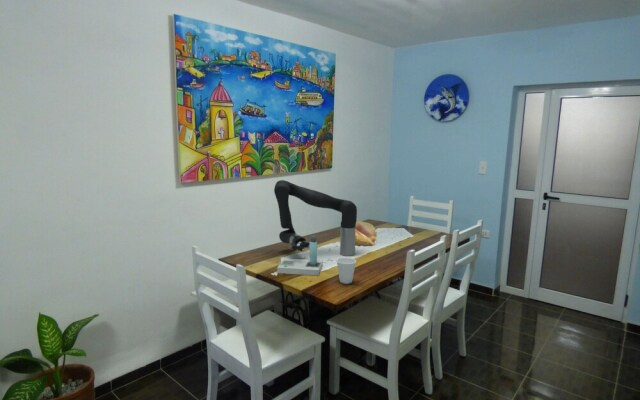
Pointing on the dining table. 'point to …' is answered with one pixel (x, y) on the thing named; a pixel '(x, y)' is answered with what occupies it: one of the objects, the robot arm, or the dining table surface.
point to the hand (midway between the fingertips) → (309, 248)
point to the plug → (313, 251)
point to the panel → (299, 267)
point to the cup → (346, 269)
